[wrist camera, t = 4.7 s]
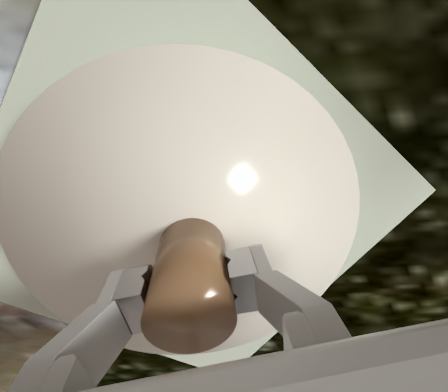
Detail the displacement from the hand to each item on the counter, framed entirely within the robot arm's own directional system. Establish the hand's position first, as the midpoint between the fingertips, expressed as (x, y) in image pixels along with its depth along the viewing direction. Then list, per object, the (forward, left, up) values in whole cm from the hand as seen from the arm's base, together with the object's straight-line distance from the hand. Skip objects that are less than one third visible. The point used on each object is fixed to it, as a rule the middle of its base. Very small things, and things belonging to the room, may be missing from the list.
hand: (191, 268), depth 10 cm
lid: (0, 0, -2) cm, 2 cm away
